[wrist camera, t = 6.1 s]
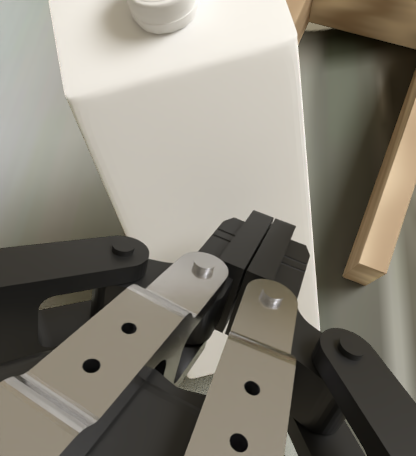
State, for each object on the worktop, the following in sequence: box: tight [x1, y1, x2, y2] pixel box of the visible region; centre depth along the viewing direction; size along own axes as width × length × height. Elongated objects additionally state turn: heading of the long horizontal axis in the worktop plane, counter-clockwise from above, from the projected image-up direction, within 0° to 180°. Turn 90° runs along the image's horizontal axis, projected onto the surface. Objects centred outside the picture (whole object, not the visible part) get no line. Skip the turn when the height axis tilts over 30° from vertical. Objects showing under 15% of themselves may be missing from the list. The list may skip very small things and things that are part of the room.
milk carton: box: [48, 0, 320, 379], centre depth 17 cm, size 7×7×19 cm
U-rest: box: [286, 0, 416, 286], centre depth 27 cm, size 12×20×4 cm, turn 156°
